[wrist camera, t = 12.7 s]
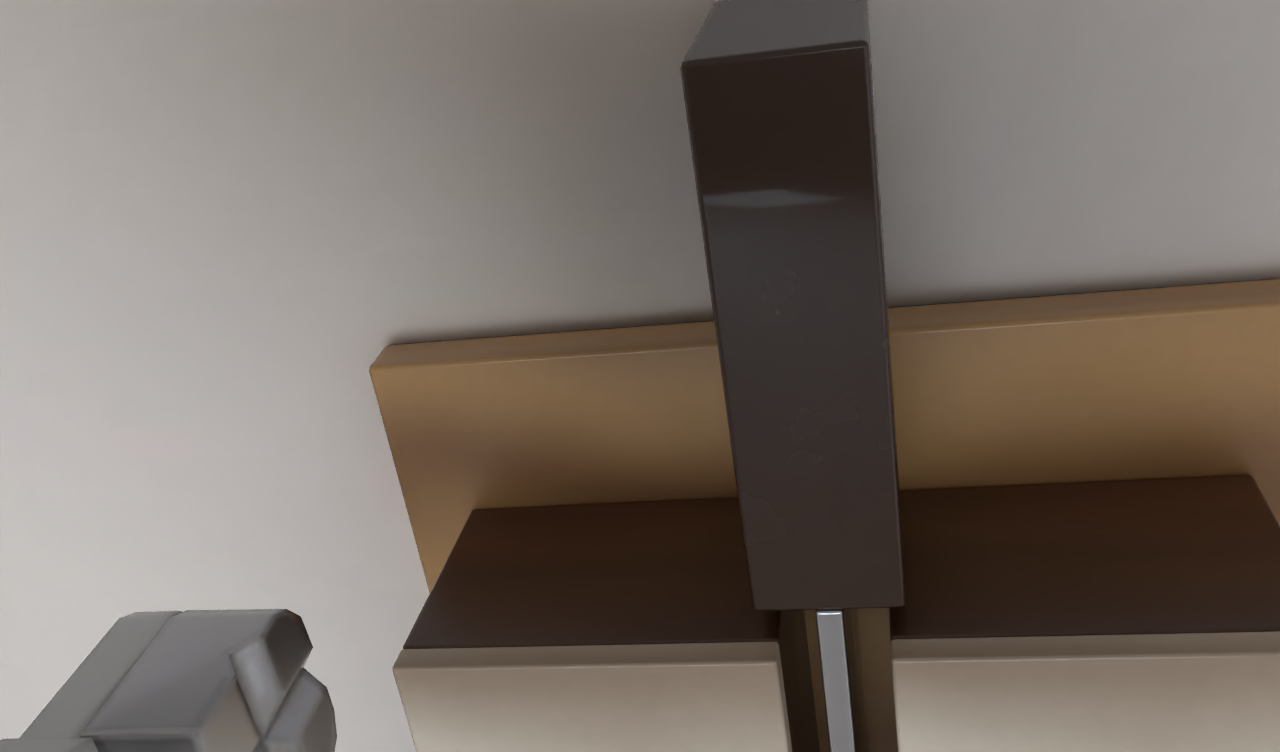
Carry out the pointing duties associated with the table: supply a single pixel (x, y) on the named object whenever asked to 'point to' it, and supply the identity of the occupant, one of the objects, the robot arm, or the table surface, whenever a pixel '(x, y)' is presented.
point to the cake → (931, 527)
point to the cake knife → (802, 316)
